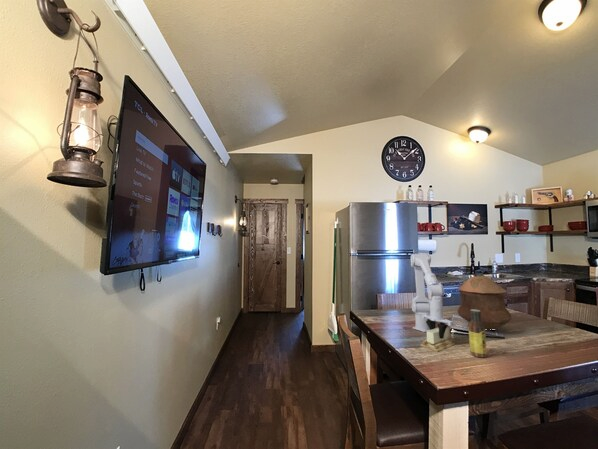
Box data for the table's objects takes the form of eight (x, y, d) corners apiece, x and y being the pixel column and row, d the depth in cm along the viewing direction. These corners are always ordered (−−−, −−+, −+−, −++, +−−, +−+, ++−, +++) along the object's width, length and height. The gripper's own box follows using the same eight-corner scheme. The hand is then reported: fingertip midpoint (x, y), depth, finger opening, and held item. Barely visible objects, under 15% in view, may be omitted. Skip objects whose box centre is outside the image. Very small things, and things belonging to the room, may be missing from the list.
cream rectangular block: (441, 336, 132) (440, 326, 133) (448, 338, 129) (447, 328, 130) (427, 341, 126) (426, 331, 127) (433, 343, 123) (433, 333, 124)
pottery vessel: (521, 339, 133) (518, 280, 135) (464, 334, 142) (461, 279, 144) (502, 323, 157) (498, 274, 159) (454, 320, 166) (451, 273, 168)
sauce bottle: (487, 359, 112) (484, 313, 113) (470, 356, 115) (467, 311, 116) (486, 353, 117) (483, 309, 119) (469, 350, 121) (467, 307, 122)
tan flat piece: (438, 339, 135) (438, 334, 135) (454, 344, 128) (454, 339, 128) (420, 345, 128) (420, 340, 128) (437, 351, 120) (437, 346, 120)
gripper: (418, 306, 133) (419, 333, 132) (446, 313, 121) (447, 343, 120) (426, 305, 137) (427, 331, 136) (454, 311, 124) (455, 340, 123)
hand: (437, 336), depth 128 cm, fingers open, 4 cm apart
